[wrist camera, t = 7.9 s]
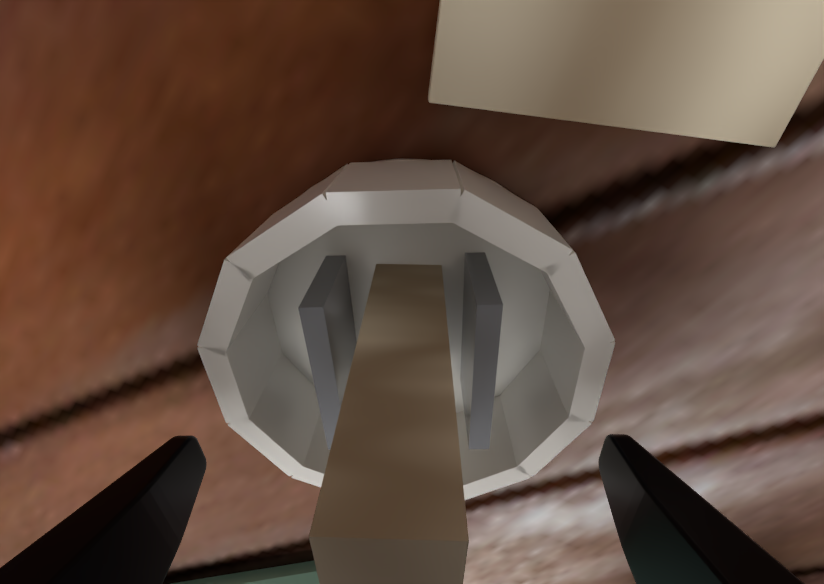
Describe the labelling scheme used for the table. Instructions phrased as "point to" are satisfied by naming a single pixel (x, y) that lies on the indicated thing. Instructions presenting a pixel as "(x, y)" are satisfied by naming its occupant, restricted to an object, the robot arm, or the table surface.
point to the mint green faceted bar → (267, 576)
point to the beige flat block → (633, 62)
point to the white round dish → (465, 308)
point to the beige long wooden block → (395, 446)
